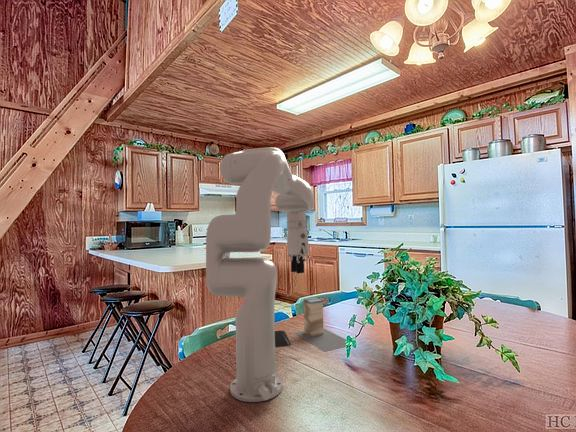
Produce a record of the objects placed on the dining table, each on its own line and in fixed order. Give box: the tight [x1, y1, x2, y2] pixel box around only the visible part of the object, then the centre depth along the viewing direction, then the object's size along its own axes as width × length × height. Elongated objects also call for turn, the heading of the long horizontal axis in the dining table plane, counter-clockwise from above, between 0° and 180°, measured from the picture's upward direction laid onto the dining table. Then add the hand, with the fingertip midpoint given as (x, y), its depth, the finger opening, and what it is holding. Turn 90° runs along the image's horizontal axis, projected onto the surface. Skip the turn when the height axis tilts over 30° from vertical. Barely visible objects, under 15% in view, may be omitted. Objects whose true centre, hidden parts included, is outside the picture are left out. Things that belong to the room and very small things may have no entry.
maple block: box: [303, 297, 324, 336], centre depth 113 cm, size 5×5×12 cm
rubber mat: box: [294, 327, 347, 353], centre depth 108 cm, size 20×12×1 cm, turn 27°
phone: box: [275, 330, 292, 348], centre depth 109 cm, size 8×1×15 cm
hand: (297, 271), depth 124 cm, fingers open, 3 cm apart
